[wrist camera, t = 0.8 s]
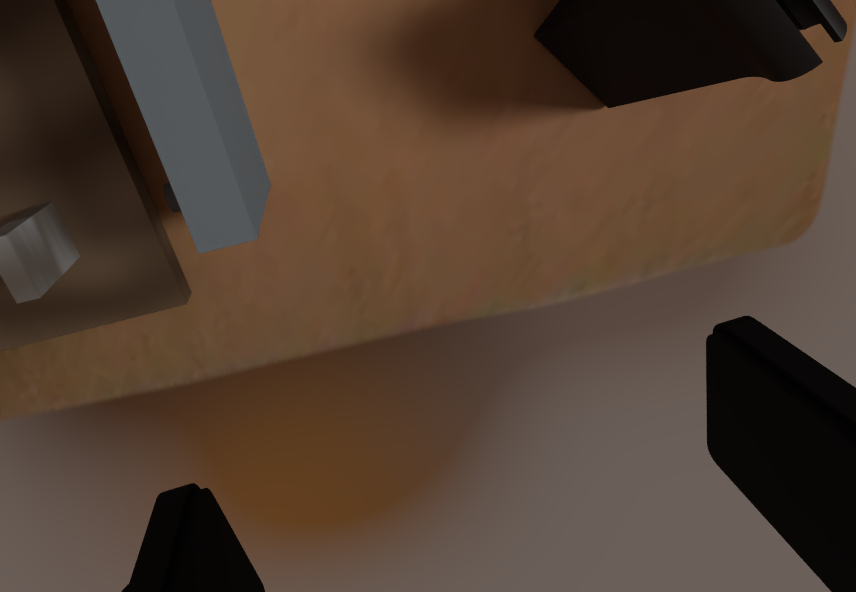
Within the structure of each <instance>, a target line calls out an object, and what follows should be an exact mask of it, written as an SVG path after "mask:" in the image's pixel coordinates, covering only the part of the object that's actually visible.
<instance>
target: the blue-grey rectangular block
mask: <svg viewBox="0 0 856 592" xmlns="http://www.w3.org/2000/svg"><path fill="white" fill-rule="evenodd" d="M96 2H97V5H98V7H99V10H100V12H101V15H102V17H103V20H104V22H105V24H106V27H107V29H108V32H109V34H110V37H111V39H112V42H113V44H114V47H115V49H116V51H117V54H118V56H119V59H120V61H121V64H122V66H123V69H124V71H125V74H126V76H127V79H128V81H129V83H130V86H131V88H132V91H133V93H134V96H135V98H136V101H137V103H138V106H139V108H140V110H141V113H142V115H143V118H144V120H145V123H146V125H147V128H148V130H149V133H150V135H151V137H152V140H153V142H154V145H155V147H156V150H157V152H158V155H159V157H160V160H161V162H162V164H163V167H164V169H165V172H166V174H167V177H168V179H169V182H170V183H168V184H165V185H164V193H165V197H166V200H167V202H168V205H169V207H170V208H171V210H172V211H173V212H178V211H182V214H183V216H184V219H185V221H186V223H187V226H188V228H189V231H190V233H191V236H192V238H193V241H194V243H195V246H196V248H197V250H198V253H203V252H207V251H212V250H216V249H220V248H224V247H228V246H232V245H236V244H240V243H244V242H248V241H252V240H256V239H257V238H258V234H259V230H260V225H261V221H262V217H263V213H264V209H265V205H266V201H267V197H268V193H269V189H270V185H271V183H270V180H269V177H268V174H267V171H266V168H265V165H264V162H263V159H262V156H261V153H260V150H259V146H258V143H257V140H256V137H255V134H254V131H253V128H252V125H251V122H250V119H249V116H248V113H247V110H246V107H245V104H244V100H243V97H242V94H241V91H240V88H239V85H238V82H237V79H236V76H235V73H234V70H233V67H232V64H231V61H230V58H229V54H228V51H227V48H226V45H225V42H224V39H223V36H222V33H221V30H220V27H219V24H218V21H217V18H216V15H215V11H214V8H213V5H212V2H211V0H96Z"/></svg>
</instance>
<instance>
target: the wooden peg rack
mask: <svg viewBox="0 0 856 592" xmlns="http://www.w3.org/2000/svg"><path fill="white" fill-rule="evenodd" d="M190 295H191V290H190V288H189V286H188V283H187V281H186V279H185V276H184V274H183V272H182V269H181V267H180V265H179V262H178V260H177V258H176V255H175V253H174V251H173V248H172V246H171V244H170V241H169V239H168V237H167V234H166V232H165V230H164V227H163V225H162V222H161V220H160V218H159V215H158V213H157V211H156V208H155V206H154V204H153V201H152V199H151V197H150V194H149V192H148V190H147V187H146V185H145V183H144V180H143V178H142V176H141V173H140V171H139V169H138V166H137V164H136V162H135V159H134V157H133V155H132V152H131V150H130V148H129V145H128V143H127V141H126V138H125V136H124V134H123V131H122V129H121V127H120V124H119V122H118V120H117V117H116V115H115V113H114V110H113V108H112V106H111V103H110V101H109V99H108V96H107V94H106V92H105V89H104V87H103V85H102V82H101V80H100V78H99V75H98V73H97V70H96V68H95V66H94V63H93V61H92V59H91V56H90V54H89V52H88V49H87V47H86V45H85V42H84V40H83V38H82V35H81V33H80V31H79V28H78V26H77V24H76V21H75V19H74V17H73V14H72V12H71V10H70V7H69V5H68V3H67V0H0V351H2V350H6V349H10V348H14V347H18V346H22V345H26V344H30V343H34V342H38V341H42V340H46V339H50V338H54V337H58V336H62V335H66V334H70V333H74V332H78V331H82V330H86V329H90V328H94V327H98V326H102V325H106V324H110V323H114V322H118V321H122V320H126V319H130V318H134V317H138V316H142V315H146V314H150V313H154V312H157V311H161V310H165V309H169V308H173V307H177V306H181V305H185V304H187V302H188V300H189V298H190Z"/></svg>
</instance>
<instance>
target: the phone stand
mask: <svg viewBox="0 0 856 592" xmlns="http://www.w3.org/2000/svg"><path fill="white" fill-rule="evenodd" d="M817 24H821V25H822V26H823V27H824V29H825V30H826V31H827V33H828V34H829V35H830V37H831V38H832V40H833V41H834V42H839V41H843V39H844V37H845V34H846V31H847V24H846V22H845V20H844V19H843V17H842V16H841V15H840V13H839V12H838V10H837V9H836V8H835V6H834V5H833V3H832V2H831V1H830V0H560V1H559V2H558V4H557V5H556V6H555V8H554V9H553V10H552V12H551V13H550V14H549V16H548V17H547V18H546V19H545V21H544V22H543V23H542V25H541V26H540V27H539V29H538V30H537V31H536V33H535V35H534V37H535V38H536V39H537V40H539V41H540V42H541V43H542V44H543V45H544V46H545V47H546V48H547V49H548V50H549V51H550V52H551V53H552V54H553V55H554V56H555V57H556V58H557V59H558V60H559V61H560V62H561V63H562V64H563V65H564V66H565V67H566V68H567V69H568V70H569V71H571V72H572V73H573V74H574V75H575V76H576V77H577V78H578V79H579V80H580V81H581V82H582V83H583V84H584V85H585V86H586V87H587V88H588V89H589V90H590V91H591V92H592V93H593V94H594V95H595V96H596V97H597V98H598V99H599V100H600V101H601V102H602V103H604V104H605V105H606V106H607V107H608V108H612V107H616V106H621V105H625V104H629V103H634V102H638V101H643V100H647V99H651V98H656V97H660V96H665V95H669V94H673V93H678V92H682V91H687V90H691V89H695V88H700V87H704V86H709V85H713V84H717V83H722V82H726V81H731V80H735V79H739V78H744V77H763V78H766V79H769V80H771V81H775V82H782V81H788V80H791V79H794V78H797V77H799V76H802V75H804V74H806V73H807V72H809V71H811V70H813V69H814V68H816V67H817V66H818V65H820V64H821V63H822V62H823V61H822V60H821V59H820V57H819V56H818V55H817V54H816V52H815V51H814V50H813V48H812V47H811V46H810V44H809V43H808V42H807V40H806V39H805V38H804V37H803V35H802V34H801V33H800V30H805V29H807V28H809V27H811V26H814V25H817Z"/></svg>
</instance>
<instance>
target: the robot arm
mask: <svg viewBox="0 0 856 592" xmlns="http://www.w3.org/2000/svg"><path fill="white" fill-rule="evenodd" d="M706 382H707V446H708V450H709V452H710V455H711V457H712V458H713V460H714V461H715V463H716V464H717V465H718V466H719V467H720V468H721V470H722V471H723V472H724V473H725V474H726V475H727V476H728V477H729V478H730V479H731V481H732V482H733V483H734V484H735V485H736V486H737V487H738V488H739V489H740V491H741V492H742V493H743V494H744V495H745V496H746V497H747V498H748V499H749V501H751V503H752V504H753V505H754V506H755V507H756V508H757V509H758V510H759V512H760V513H761V514H762V515H763V516H764V517H765V518H766V519H767V520H768V522H769V523H770V524H771V525H772V526H773V527H774V528H775V529H776V530H777V532H778V533H779V534H780V535H781V536H782V537H783V538H784V539H785V541H786V542H787V543H788V544H789V545H790V546H791V547H792V548H793V549H794V551H796V553H797V554H798V555H799V556H800V557H801V558H802V559H803V561H804V562H806V564H807V565H808V566H809V567H810V568H811V569H812V570H813V571H814V573H815V574H816V575H817V576H818V577H819V578H820V579H821V580H822V582H823V583H824V584H825V585H826V586H827V587H828V588H829V589H830V590H831V592H856V388H855V387H854V386H852V385H851V384H849V383H847V382H846V381H845V380H843V379H842V378H841V377H839V376H838V375H836V374H835V373H833V372H832V371H830V370H829V369H827V368H826V367H824V366H823V365H821V364H820V363H819V362H817V361H816V360H814V359H813V358H811V357H810V356H808V355H807V354H806V353H804V352H802V351H801V350H800V349H798V348H797V347H795V346H794V345H792V344H791V343H789V342H788V341H787V340H785V339H784V338H782V337H781V336H779V335H778V334H776V333H775V332H773V331H772V330H770V329H769V328H768V327H766V326H765V325H763V324H762V323H760V322H759V321H757V320H756V319H754V318H752V317H750V316H743V317H739V318H736V319H733V320H729V321H726V322H723V323H720V324H717V325H716V326H715V327H714V329H713V334H711V335H709V336H708V337H707V341H706ZM122 592H265V590H264V586H263V584H262V582H261V580H260V578H259V577H258V575H257V573H256V571H255V569H254V567H253V566H252V564H251V562H250V560H249V559H248V557H247V555H246V553H245V551H244V549H243V548H242V546H241V544H240V542H239V540H238V539H237V537H236V535H235V534H234V531H233V530H232V528H231V526H230V524H229V523H228V521H227V519H226V517H225V515H224V513H223V512H222V510H221V508H220V506H219V504H218V503H217V501H216V499H215V497H214V496H213V494H212V492H211V491H210V490H209V489H208V488H204V489H200V488H199V486H197V485H196V484H195V483H192V484H188V485H185V486H181V487H178V488H175V489H172V490H168V491H165V492H162V493H160V494H159V495H158V497H157V499H156V502H155V505H154V508H153V511H152V514H151V517H150V521H149V524H148V527H147V530H146V533H145V536H144V539H143V542H142V546H141V549H140V552H139V555H138V558H137V561H136V564H135V567H134V570H133V574H132V577H131V580H130V583H129V584H128V585H127V586H126V587H125V588H124V589H123V590H122Z"/></svg>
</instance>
